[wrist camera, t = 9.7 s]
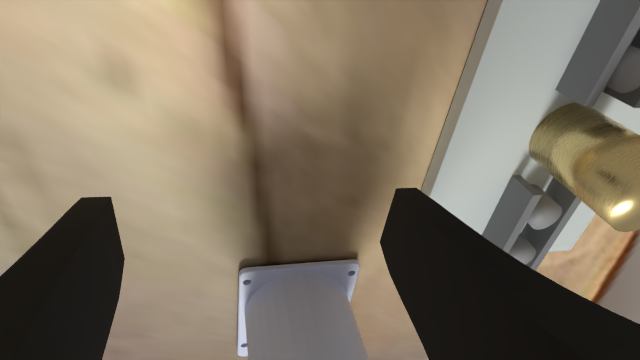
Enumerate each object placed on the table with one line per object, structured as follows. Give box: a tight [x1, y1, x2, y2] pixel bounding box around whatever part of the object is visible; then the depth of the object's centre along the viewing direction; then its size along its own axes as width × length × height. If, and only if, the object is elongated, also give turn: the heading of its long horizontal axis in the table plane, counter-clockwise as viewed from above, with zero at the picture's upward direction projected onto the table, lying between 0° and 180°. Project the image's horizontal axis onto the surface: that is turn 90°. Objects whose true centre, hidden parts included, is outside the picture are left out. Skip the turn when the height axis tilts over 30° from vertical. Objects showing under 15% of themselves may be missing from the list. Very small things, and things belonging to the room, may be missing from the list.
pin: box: [529, 103, 640, 232], centre depth 20 cm, size 4×4×6 cm
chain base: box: [421, 0, 640, 271], centre depth 22 cm, size 20×14×3 cm
